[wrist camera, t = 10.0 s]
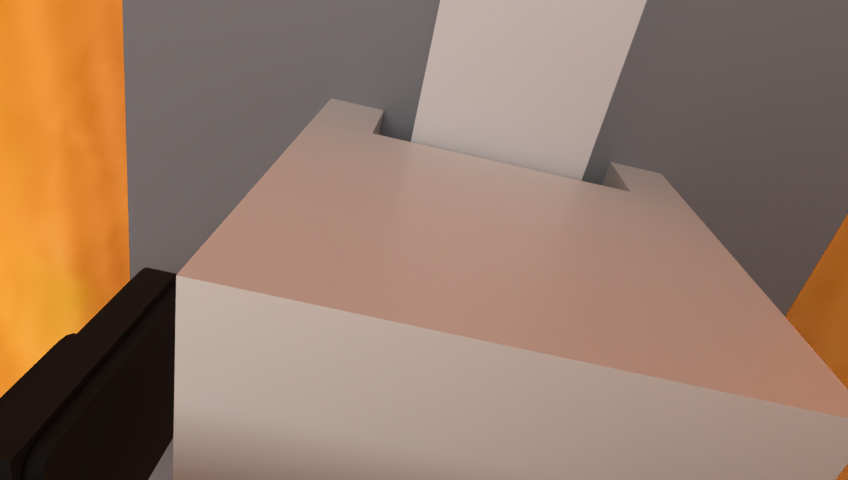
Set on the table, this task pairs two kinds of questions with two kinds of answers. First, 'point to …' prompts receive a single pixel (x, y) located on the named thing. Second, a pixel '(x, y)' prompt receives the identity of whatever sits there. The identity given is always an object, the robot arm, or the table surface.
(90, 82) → the table surface
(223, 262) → the block
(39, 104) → the table surface
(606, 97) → the rail board
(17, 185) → the table surface
